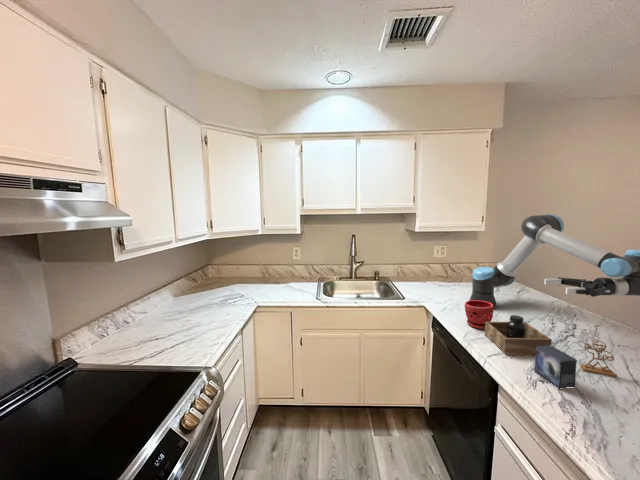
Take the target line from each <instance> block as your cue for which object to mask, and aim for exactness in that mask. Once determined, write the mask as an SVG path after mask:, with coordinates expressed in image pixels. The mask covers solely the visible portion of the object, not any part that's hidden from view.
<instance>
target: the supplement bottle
mask: <svg viewBox="0 0 640 480" xmlns="http://www.w3.org/2000/svg"><path fill="white" fill-rule="evenodd" d="M507 322H508V323H507V338H525V335H526V326H525V324H523V322H524V317H523V316H520V315H515V314H512V315H509V321H507Z"/></svg>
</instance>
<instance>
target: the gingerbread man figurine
mask: <svg viewBox="0 0 640 480" xmlns="http://www.w3.org/2000/svg"><path fill="white" fill-rule="evenodd" d="M599 343H600V344H599ZM583 346H584V349H585V351H586V352H588V353H589V354H592V358H591V359H590V360H589V361H588V362H587V363H586V364H583V363H580V366H579V367H580V368H581V370H582V371H583V372H584V371H585V372H586V373H591V374H596V375H599V376H606V377H610V378H611V377H612V378H616V377H617V375H616V373H615V372H614V371H613V369H610V368H609V366H608V364H607V363H606V362H605V358H606V360H608V362H613V361H614V359H615V357H614V355H613V354H612V353H611V352H610V351H608V350H606V349H607V345H606V343H605V342H604V341H602V340H595V341H593V342H592V345H591V344H590V343H585V344H584V345H583ZM592 347H593V348H592ZM588 349H592V351H593V350H594V351H595V353H597V356H596V357H595V353H594V352H591V351H589V350H588ZM603 352H604V353H608V354H610V355H609V356H607V355H605V354H603ZM600 353H601V354H602V358H601V357H600V355H601V354H600ZM594 360H597V361H596V362H595V363H594V364H591V363H592V362H593V361H594ZM599 361H603V362H604V364H605V366H601V364H600V362H599ZM597 365H599V367H598V366H597Z"/></svg>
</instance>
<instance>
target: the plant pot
mask: <svg viewBox="0 0 640 480" xmlns="http://www.w3.org/2000/svg"><path fill="white" fill-rule="evenodd" d="M477 305H479V306H480V307H477ZM473 306H475V307H473ZM482 307H484V308H482ZM464 311H465V316H466V323H467V325H469V326H470V327H472V328H476V329H481V330H485V322H492V320H493V316H494V309H493V304H491V303H489V302H486V301H479V300H471V301H469V300H466V301H465V302H464Z"/></svg>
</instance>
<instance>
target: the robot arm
mask: <svg viewBox="0 0 640 480" xmlns="http://www.w3.org/2000/svg"><path fill="white" fill-rule="evenodd" d="M564 228H565V225H564V221H563V219H562V218H561V217H560V216H558V215H556V214H547V213H546V214H538V215H537V214H536V215H530V216H528V217H526V218H524V220H523V221H522V222H521V225H520V229H521V232H522V233H523V235H524V236H523V237H522V239H520V241H519V242H518V243H517V244H516V246H515V247H513V249H512V250H511V252H509V254H508V255H507V256H506V257H505V259H503V261H500V262H498V263H496V264H495V266H494V267H493V268H492V267H490V266H484V267H483V266H481V267H476V268H474V269H473V271H472V277H471V278H472V285H471V286H472V291H471V295H470V298H469V299H468V301H471V300H479V301H486V302H489V303H491V304H493V310H495V309H497V307H498V303H497V300H496V298H495V288H500V287H507V286H510V285H511V284H512V285H513V283H514V282H515V280H516V276H517V271H518V269H519V268H521V266H522V265H523V264H525V262H526V261H527V260H528V259H529V258H530V257H531V255H533V253H535V251H536V250H537V249H538V248H539V247H540V246H541V245H542V244H547V245H549V246H551V247H552V248H556V249H557V250H560V251H562V252H564V253H566V254H569V255H571V256H572V257H575V258H577V259H579V260H581V261H584V262H585V263H588V264H590V265H592V266H594V267H596V268H599V269H601V272H602V273H603V274H604V275H606V276H608V277H597V278H595V279H594V280H593V281H592V280H587V279H585V278H584V279H580V278H579V279H578V278H571V277H570V278H569V277H557V278H544V283H543V284H544V285H545V286H561V285H565V286H569V287H565V295H581V296H583V295H585V296H590V297H591V298H592V297H593V298H595V297H598V296H614V297H618V296H638V297H640V249H627V250H626V251H625V254H624V256H620V255H618V254H616V253H613V252H611V251H608V250H606V249H603V248H601V247H598V246H596V245H593V244H591V243H589V242H586V241H584V240H582V239H580V238H576V237H574V236H572V235H569V234H567V233H564V232H563V231H564ZM571 286H572V287H571ZM473 307H475V306H473ZM477 307H480V306H479V305H477ZM482 308H484V307H482Z"/></svg>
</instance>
